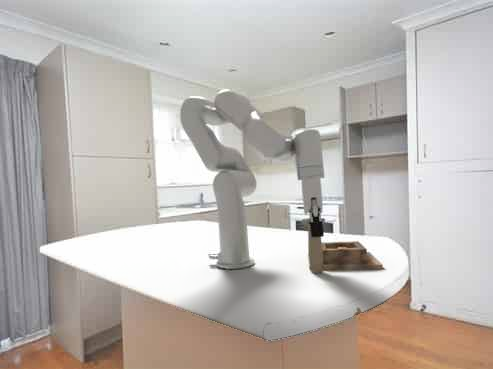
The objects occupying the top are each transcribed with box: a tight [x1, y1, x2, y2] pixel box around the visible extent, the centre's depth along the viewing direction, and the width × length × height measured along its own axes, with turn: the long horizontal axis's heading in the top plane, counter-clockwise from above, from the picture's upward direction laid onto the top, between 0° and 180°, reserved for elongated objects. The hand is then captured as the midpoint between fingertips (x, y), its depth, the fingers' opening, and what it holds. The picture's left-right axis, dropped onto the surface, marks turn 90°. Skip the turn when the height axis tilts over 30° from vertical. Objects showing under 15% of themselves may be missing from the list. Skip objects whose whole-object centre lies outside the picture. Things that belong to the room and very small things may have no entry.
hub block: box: [307, 240, 384, 271], centre depth 90 cm, size 20×16×6 cm
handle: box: [301, 217, 326, 274], centre depth 82 cm, size 5×6×15 cm
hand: (316, 234), depth 82 cm, fingers open, 9 cm apart
